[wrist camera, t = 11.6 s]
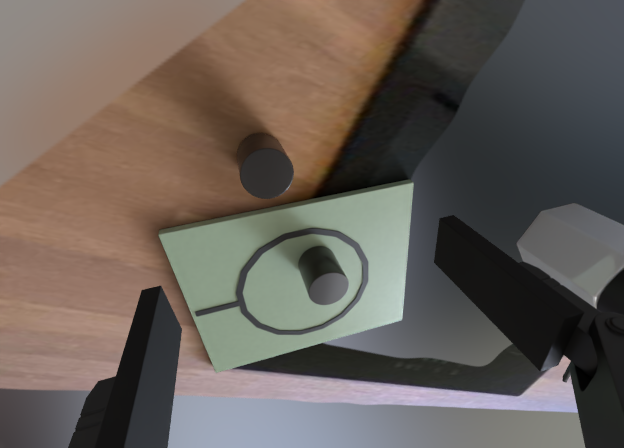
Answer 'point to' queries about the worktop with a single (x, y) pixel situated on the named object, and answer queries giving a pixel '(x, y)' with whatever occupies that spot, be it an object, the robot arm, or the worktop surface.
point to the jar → (579, 253)
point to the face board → (292, 272)
